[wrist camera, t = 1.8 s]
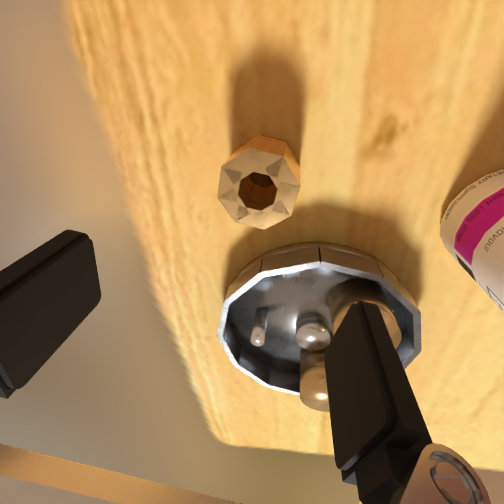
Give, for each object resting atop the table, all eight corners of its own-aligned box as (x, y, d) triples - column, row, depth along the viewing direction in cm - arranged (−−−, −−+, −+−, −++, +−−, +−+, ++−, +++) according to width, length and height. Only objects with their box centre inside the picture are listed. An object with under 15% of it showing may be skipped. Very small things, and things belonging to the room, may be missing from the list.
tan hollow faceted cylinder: (238, 130, 21) (224, 141, 17) (305, 146, 21) (307, 162, 17) (228, 193, 24) (214, 217, 20) (287, 208, 24) (285, 234, 20)
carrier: (242, 220, 25) (228, 256, 20) (448, 271, 25) (488, 320, 20) (217, 348, 36) (204, 392, 31) (359, 383, 36) (370, 434, 31)
